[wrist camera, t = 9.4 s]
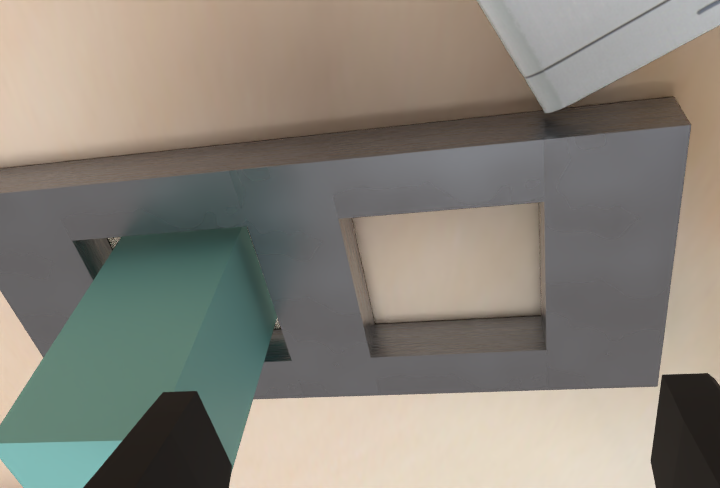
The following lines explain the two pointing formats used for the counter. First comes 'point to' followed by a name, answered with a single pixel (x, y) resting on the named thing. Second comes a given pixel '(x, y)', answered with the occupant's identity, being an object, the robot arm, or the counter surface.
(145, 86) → the counter surface
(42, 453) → the teal peg
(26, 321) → the steel rail
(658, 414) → the robot arm
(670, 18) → the hard drive
